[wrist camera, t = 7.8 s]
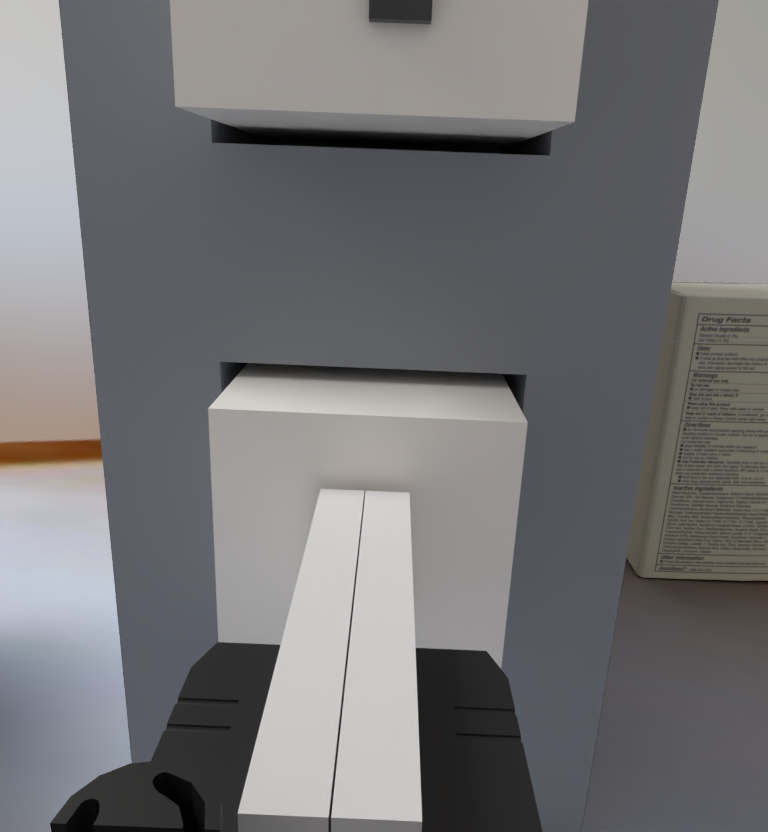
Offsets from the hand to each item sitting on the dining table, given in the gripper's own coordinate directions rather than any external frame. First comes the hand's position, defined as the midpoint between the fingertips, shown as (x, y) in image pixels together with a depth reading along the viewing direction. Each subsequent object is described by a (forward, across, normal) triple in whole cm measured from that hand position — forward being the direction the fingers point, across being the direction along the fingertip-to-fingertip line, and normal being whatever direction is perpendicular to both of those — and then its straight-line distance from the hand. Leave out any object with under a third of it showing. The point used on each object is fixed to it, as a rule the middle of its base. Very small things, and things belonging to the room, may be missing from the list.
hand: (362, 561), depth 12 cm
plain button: (+3, 0, -3) cm, 4 cm away
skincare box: (+17, +14, -9) cm, 24 cm away
